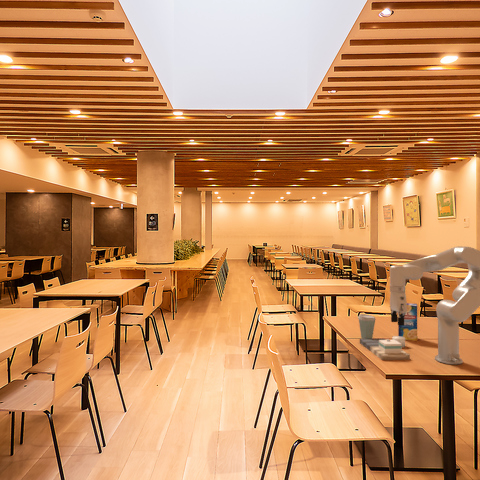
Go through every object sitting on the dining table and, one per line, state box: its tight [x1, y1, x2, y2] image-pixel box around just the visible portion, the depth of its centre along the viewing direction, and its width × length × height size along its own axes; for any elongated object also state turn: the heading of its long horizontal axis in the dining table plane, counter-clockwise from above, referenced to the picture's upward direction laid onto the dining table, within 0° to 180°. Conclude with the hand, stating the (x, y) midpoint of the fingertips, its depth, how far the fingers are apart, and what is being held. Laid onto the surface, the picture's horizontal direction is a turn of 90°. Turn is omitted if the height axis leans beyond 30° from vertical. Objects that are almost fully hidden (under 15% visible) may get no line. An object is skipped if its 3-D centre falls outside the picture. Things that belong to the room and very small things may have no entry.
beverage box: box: [397, 302, 418, 342], centre depth 236 cm, size 7×11×22 cm, turn 66°
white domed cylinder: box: [391, 335, 406, 348], centre depth 221 cm, size 7×7×5 cm
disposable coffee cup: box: [357, 313, 376, 339], centre depth 236 cm, size 11×11×15 cm
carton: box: [379, 339, 403, 353], centre depth 202 cm, size 8×9×6 cm
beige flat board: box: [359, 338, 411, 361], centre depth 211 cm, size 32×15×2 cm, turn 2°
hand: (397, 323), depth 193 cm, fingers open, 6 cm apart
